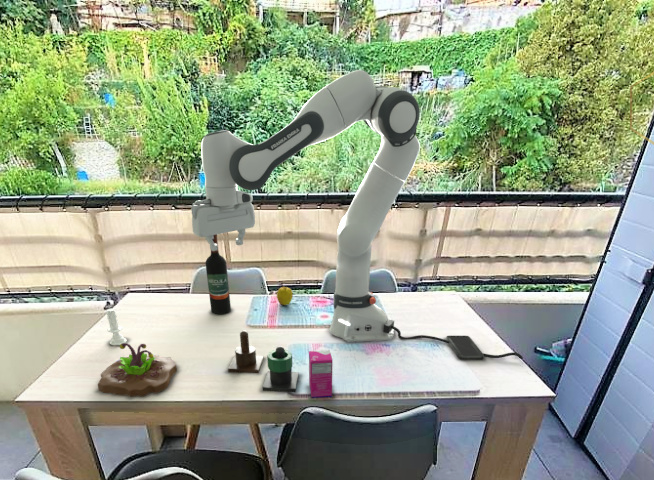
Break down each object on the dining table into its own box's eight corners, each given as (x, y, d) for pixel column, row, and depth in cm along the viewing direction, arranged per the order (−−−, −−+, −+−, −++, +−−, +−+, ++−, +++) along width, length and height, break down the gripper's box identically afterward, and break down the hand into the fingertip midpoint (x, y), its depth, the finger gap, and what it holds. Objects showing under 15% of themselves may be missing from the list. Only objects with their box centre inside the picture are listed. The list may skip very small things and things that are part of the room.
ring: (280, 358, 118) (280, 347, 116) (296, 366, 114) (296, 354, 112) (263, 366, 114) (262, 355, 112) (279, 375, 110) (279, 363, 108)
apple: (286, 308, 165) (286, 289, 161) (274, 305, 168) (273, 286, 164) (296, 304, 170) (295, 285, 166) (283, 301, 173) (282, 282, 169)
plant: (120, 360, 128) (111, 327, 122) (183, 361, 127) (177, 328, 122) (88, 396, 111) (76, 359, 105) (161, 398, 110) (153, 361, 104)
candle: (120, 346, 136) (112, 311, 130) (106, 344, 137) (97, 310, 131) (130, 339, 141) (122, 305, 135) (115, 338, 142) (107, 304, 136)
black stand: (298, 375, 120) (298, 340, 114) (295, 392, 113) (294, 355, 107) (268, 374, 121) (266, 338, 115) (262, 391, 113) (260, 353, 107)
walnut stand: (263, 359, 129) (262, 325, 123) (258, 373, 121) (256, 338, 115) (235, 357, 130) (232, 324, 124) (228, 372, 122) (224, 336, 116)
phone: (459, 356, 128) (445, 335, 141) (459, 359, 129) (445, 338, 142) (485, 356, 128) (468, 335, 141) (484, 359, 129) (468, 338, 142)
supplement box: (308, 387, 115) (308, 350, 109) (329, 386, 115) (330, 349, 110) (310, 398, 110) (310, 360, 104) (332, 397, 110) (334, 359, 105)
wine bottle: (233, 308, 166) (225, 229, 151) (228, 315, 159) (219, 234, 144) (214, 307, 166) (205, 229, 151) (208, 314, 160) (198, 233, 145)
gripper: (197, 202, 108) (204, 256, 115) (256, 194, 121) (259, 243, 128) (183, 200, 112) (191, 252, 119) (242, 193, 125) (246, 240, 132)
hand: (227, 247), depth 124 cm, fingers open, 8 cm apart
